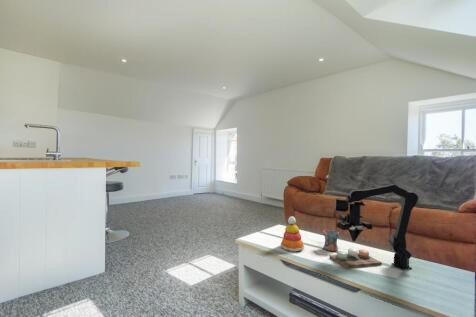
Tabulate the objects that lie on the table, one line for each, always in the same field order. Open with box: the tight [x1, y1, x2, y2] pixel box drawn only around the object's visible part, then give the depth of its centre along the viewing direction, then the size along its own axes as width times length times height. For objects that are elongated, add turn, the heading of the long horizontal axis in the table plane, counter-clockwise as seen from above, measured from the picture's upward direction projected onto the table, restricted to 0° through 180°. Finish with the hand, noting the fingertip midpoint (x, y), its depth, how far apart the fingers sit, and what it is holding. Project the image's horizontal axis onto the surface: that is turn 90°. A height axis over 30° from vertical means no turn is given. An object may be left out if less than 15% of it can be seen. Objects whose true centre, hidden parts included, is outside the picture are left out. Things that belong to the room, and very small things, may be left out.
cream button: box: [347, 247, 359, 256], centre depth 128 cm, size 5×5×2 cm
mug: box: [322, 229, 340, 252], centre depth 145 cm, size 12×9×11 cm
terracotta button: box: [358, 249, 370, 258], centre depth 130 cm, size 5×5×2 cm
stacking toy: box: [280, 215, 305, 252], centre depth 144 cm, size 14×14×20 cm
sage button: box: [336, 250, 348, 259], centre depth 126 cm, size 5×5×2 cm
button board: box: [329, 252, 383, 270], centre depth 127 cm, size 22×13×2 cm, turn 104°
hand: (353, 241), depth 129 cm, fingers closed
